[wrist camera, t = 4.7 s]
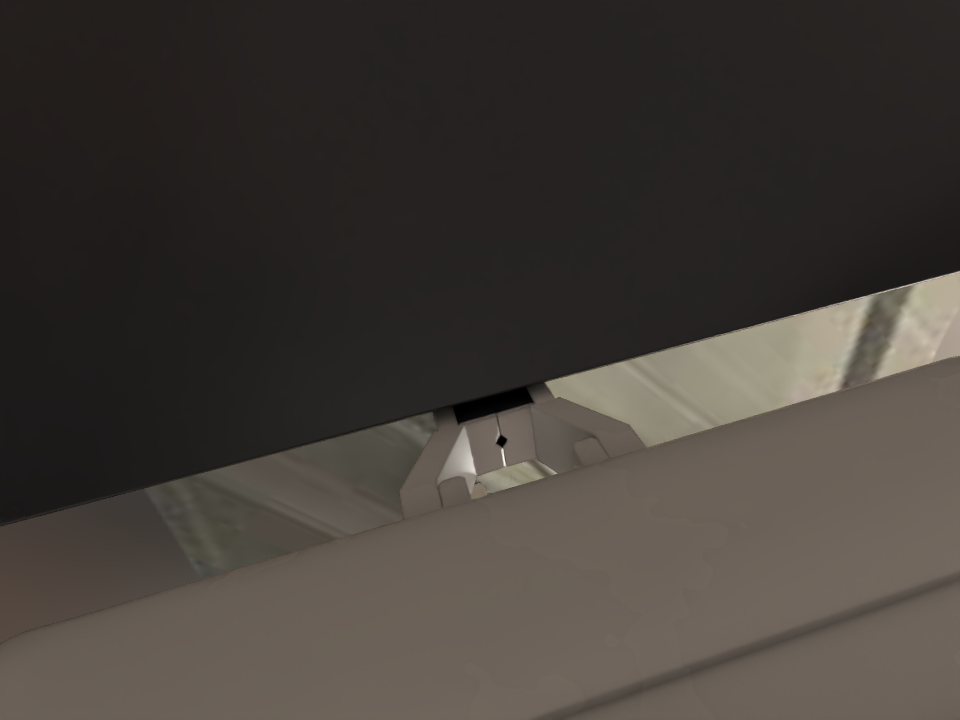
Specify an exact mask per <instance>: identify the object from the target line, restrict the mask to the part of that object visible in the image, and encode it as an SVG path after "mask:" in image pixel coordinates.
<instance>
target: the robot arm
mask: <svg viewBox="0 0 960 720" xmlns="http://www.w3.org/2000/svg"><path fill="white" fill-rule="evenodd" d="M433 416H434V420H435V423H436V427H437V432H434V433H432V435H431V437H430V439H429V440H428V442H427V444H426V446H425V447H424V449H423V451H422V453H421V454H420V456H419V458H418V459H417V461H416V463H415V465H414V466H413V468H412V470H411V472H410V473H409V475H408V477H407V479H406V480H405V482H404V484H403V486H402V487H401V489H400V491H399V495H400V502H401V508H402V515H403V520H401V521H398V522H394V523H391V524H388V525H384V526H381V527H377V528H374V529H371V530H367V531H364V532H361V533H357V534H354V535H350V536H347V537H344V538H340V539H337V540H334V541H330V542H327V543H323V544H320V545H317V546H313V547H310V548H307V549H303V550H300V551H297V552H293V553H290V554H286V555H283V556H280V557H276V558H273V559H270V560H266V561H263V562H259V563H256V564H253V565H249V566H246V567H243V568H239V569H236V570H233V571H229V572H226V573H222V574H219V575H216V576H212V577H209V578H206V579H202V580H199V581H196V582H192V583H189V584H186V585H182V586H179V587H175V588H172V589H169V590H165V591H162V592H158V593H155V594H152V595H148V596H145V597H142V598H138V599H135V600H132V601H128V602H125V603H122V604H118V605H115V606H111V607H108V608H105V609H101V610H98V611H95V612H91V613H88V614H84V615H81V616H78V617H74V618H71V619H67V620H64V621H60V622H57V623H53V624H49V625H45V626H42V627H38V628H35V629H31V630H28V631H25V632H23V633H20V634H18V635H15V636H13V637H10V638H8V639H7V640H5V641H3V642H2V643H0V720H960V356H955V357H950V358H947V359H944V360H940V361H936V362H933V363H930V364H926V365H923V366H919V367H916V368H913V369H910V370H906V371H903V372H900V373H896V374H893V375H890V376H886V377H883V378H880V379H876V380H873V381H870V382H866V383H863V384H860V385H856V386H853V387H849V388H846V389H843V390H839V391H836V392H833V393H829V394H826V395H822V396H819V397H816V398H812V399H809V400H806V401H802V402H799V403H796V404H792V405H789V406H785V407H782V408H779V409H775V410H772V411H769V412H765V413H762V414H758V415H755V416H752V417H748V418H745V419H741V420H738V421H735V422H731V423H728V424H725V425H721V426H718V427H714V428H711V429H708V430H704V431H701V432H697V433H694V434H691V435H687V436H684V437H681V438H677V439H674V440H671V441H667V442H664V443H660V444H657V445H654V446H650V447H647V448H646V446H645V445H644V444H643V442H642V441H641V440H640V438H639V437H638V435H637V434H636V433H635V431H634V430H633V429H632V427H631V426H630V425H629V424H626V423H624V422H621V421H618V420H616V419H613V418H611V417H608V416H606V415H603V414H601V413H598V412H596V411H593V410H591V409H588V408H586V407H583V406H581V405H578V404H576V403H573V402H571V401H568V400H566V399H563V398H561V397H558V398H554V396H553V394H552V393H551V391H550V389H549V388H548V386H547V384H546V383H545V382H544V383H540V384H536V385H532V386H529V387H525V388H521V389H517V390H514V391H510V392H506V393H502V394H498V395H495V396H491V397H487V398H483V399H480V400H476V401H472V402H468V403H465V404H461V405H457V406H453V407H449V408H446V409H442V410H438V411H434V412H433ZM533 459H537V460H538V461H540V462H541V463H543V464H545V465H546V466H548V467H549V468H551V469H552V470H554V471H555V472H557V473H558V474H556V475H553V476H549V477H546V478H543V479H539V480H536V481H533V482H529V483H526V484H522V485H519V486H516V487H512V488H509V489H506V490H502V491H499V492H495V493H492V494H489V495H485V496H482V497H479V498H475V499H471V493H472V490H473V487H474V484H475V481H476V478H477V477H476V476H479V475H482V474H485V473H488V472H491V471H494V470H497V469H500V468H503V467H506V466H511V465H514V464H518V463H522V462H526V461H529V460H533Z"/></svg>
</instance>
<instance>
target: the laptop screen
mask: <svg viewBox="0 0 960 720" xmlns="http://www.w3.org/2000/svg"><path fill="white" fill-rule="evenodd" d="M959 272H960V0H0V526H4V525H8V524H12V523H15V522H19V521H23V520H27V519H30V518H34V517H38V516H42V515H46V514H49V513H53V512H57V511H61V510H64V509H68V508H72V507H76V506H80V505H83V504H87V503H91V502H95V501H98V500H102V499H106V498H110V497H114V496H117V495H121V494H125V493H129V492H132V491H136V490H140V489H144V488H148V487H151V486H155V485H159V484H163V483H166V482H170V481H174V480H178V479H182V478H185V477H189V476H193V475H197V474H200V473H204V472H208V471H212V470H216V469H219V468H223V467H227V466H231V465H234V464H238V463H242V462H246V461H250V460H253V459H257V458H261V457H265V456H268V455H272V454H276V453H280V452H283V451H287V450H291V449H295V448H299V447H302V446H306V445H310V444H314V443H317V442H321V441H325V440H329V439H333V438H336V437H340V436H344V435H348V434H351V433H355V432H359V431H363V430H367V429H370V428H374V427H378V426H382V425H385V424H389V423H393V422H397V421H400V420H404V419H408V418H412V417H416V416H419V415H423V414H427V413H431V412H434V411H438V410H442V409H446V408H449V407H453V406H457V405H461V404H465V403H468V402H472V401H476V400H480V399H483V398H487V397H491V396H495V395H498V394H502V393H506V392H510V391H514V390H517V389H521V388H525V387H529V386H532V385H536V384H540V383H544V382H548V381H551V380H555V379H559V378H563V377H567V376H570V375H574V374H578V373H582V372H585V371H589V370H593V369H597V368H601V367H604V366H608V365H612V364H616V363H619V362H623V361H627V360H631V359H635V358H638V357H642V356H646V355H650V354H653V353H657V352H661V351H665V350H668V349H672V348H676V347H680V346H684V345H687V344H691V343H695V342H699V341H702V340H706V339H710V338H714V337H718V336H721V335H725V334H729V333H733V332H736V331H740V330H744V329H748V328H752V327H755V326H759V325H763V324H767V323H770V322H774V321H778V320H782V319H786V318H789V317H793V316H797V315H801V314H804V313H808V312H812V311H816V310H819V309H823V308H827V307H831V306H835V305H838V304H842V303H846V302H850V301H853V300H857V299H861V298H865V297H869V296H872V295H876V294H880V293H884V292H887V291H891V290H895V289H899V288H903V287H906V286H910V285H914V284H918V283H921V282H925V281H929V280H933V279H936V278H940V277H944V276H948V275H952V274H955V273H959Z"/></svg>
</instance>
